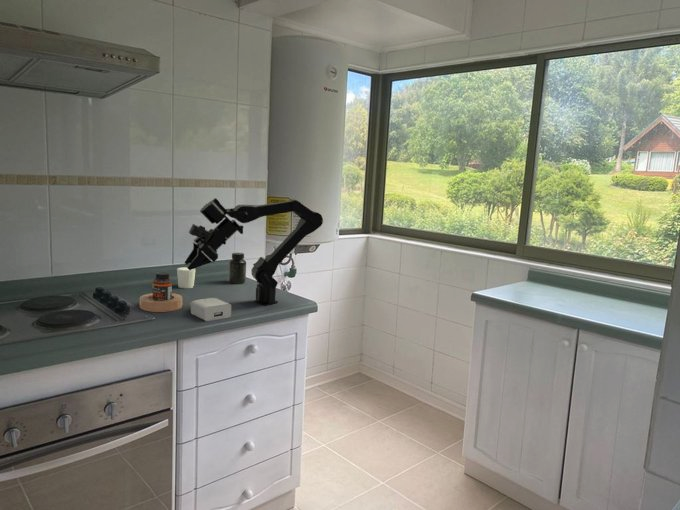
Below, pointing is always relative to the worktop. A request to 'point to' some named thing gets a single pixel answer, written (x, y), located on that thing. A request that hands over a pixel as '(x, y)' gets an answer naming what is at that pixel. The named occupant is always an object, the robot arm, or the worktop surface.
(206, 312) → the charger
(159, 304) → the collar
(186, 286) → the white tapered cylinder
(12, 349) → the worktop surface
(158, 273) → the supplement bottle
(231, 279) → the supplement bottle
